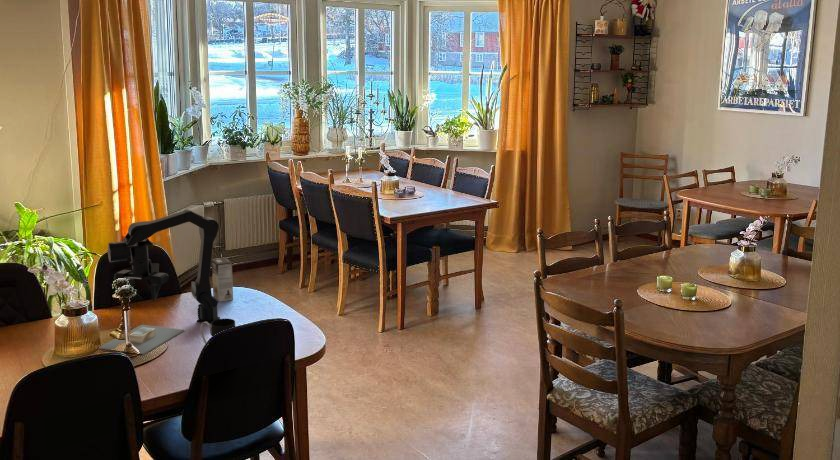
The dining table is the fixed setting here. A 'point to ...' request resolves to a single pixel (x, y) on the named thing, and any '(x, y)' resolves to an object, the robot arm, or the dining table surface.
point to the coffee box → (222, 279)
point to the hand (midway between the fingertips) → (143, 299)
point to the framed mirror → (142, 335)
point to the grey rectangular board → (150, 344)
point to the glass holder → (218, 326)
